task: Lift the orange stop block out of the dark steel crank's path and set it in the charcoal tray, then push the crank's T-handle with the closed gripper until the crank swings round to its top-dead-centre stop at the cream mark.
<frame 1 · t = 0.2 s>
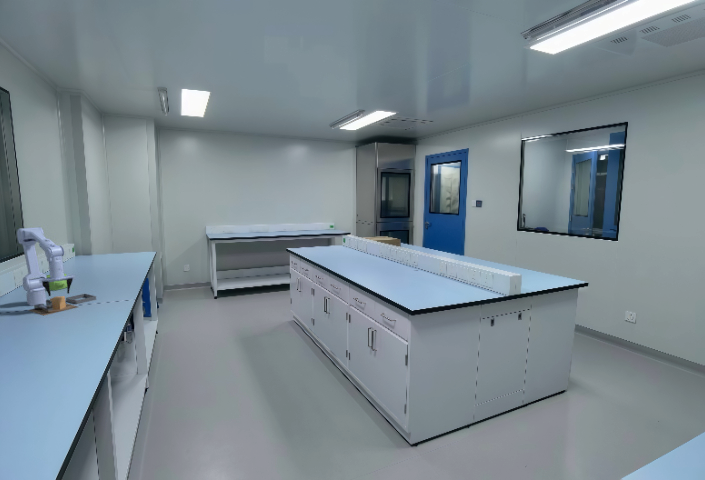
hand: (59, 294, 193), 10 cm above the lab bench, tool pointing down, fingers open, 7 cm apart
crank board: (53, 310, 197), on the lab bench
green rough block: (54, 289, 242), on the lab bench
tray: (81, 302, 212), on the lab bench
stop block: (58, 308, 197), point 1 cm above the lab bench, touching crank board
crank: (43, 304, 193), point 4 cm above the lab bench, hinge at 0.0°
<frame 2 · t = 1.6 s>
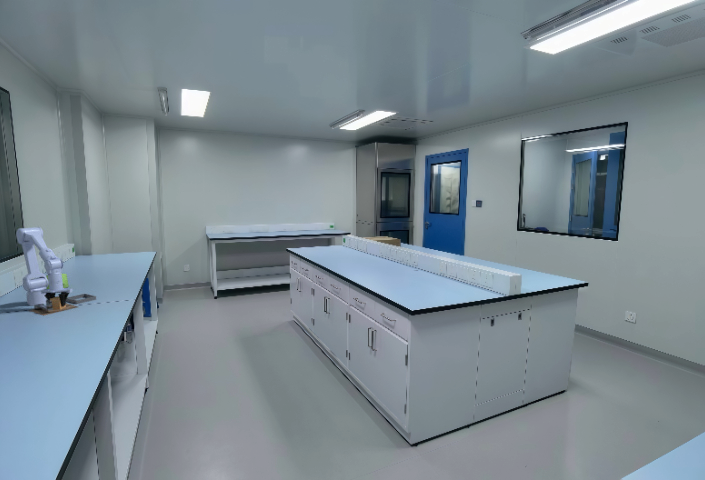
hand: (58, 305, 197), 2 cm above the lab bench, tool pointing down, fingers closed on stop block, 4 cm apart
stop block: (58, 308, 197), point 1 cm above the lab bench, touching crank board, gripper
everything else where it was.
when the fingers open (3 cm above the lab bench, at t = 5.6 s): stop block drops 1 cm, resting on tray.
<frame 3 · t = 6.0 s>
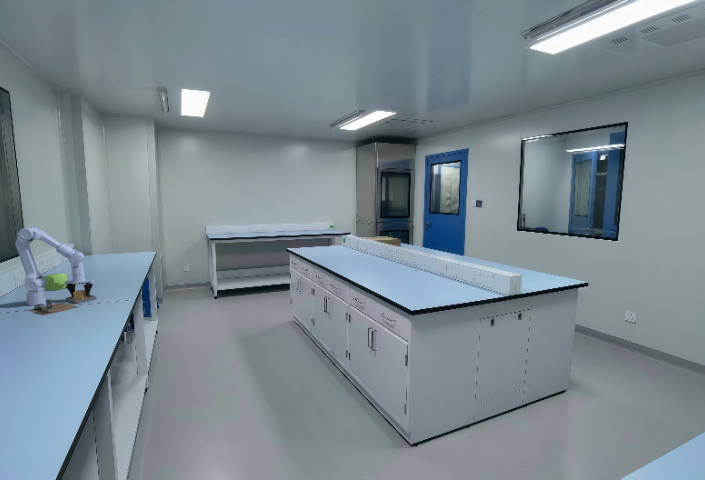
hand: (80, 296, 212), 3 cm above the lab bench, tool pointing down, fingers open, 7 cm apart
stop block: (80, 301, 212), point 1 cm above the lab bench, touching tray
everything else where it was.
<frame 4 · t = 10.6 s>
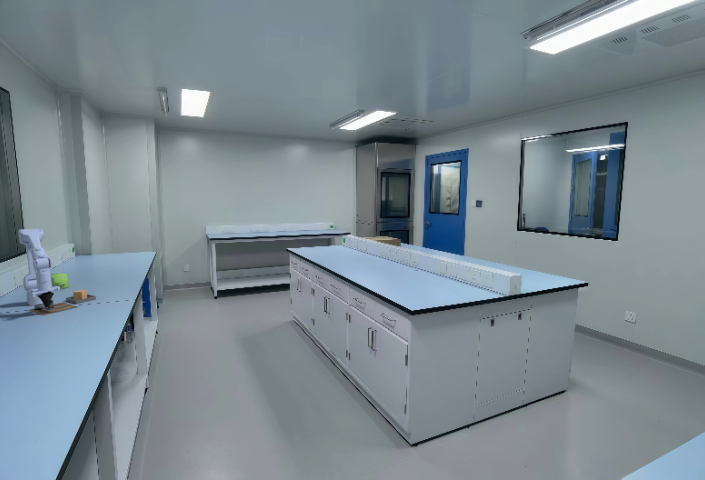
hand: (47, 307, 188), 4 cm above the lab bench, tool pointing down, fingers closed
crank: (44, 304, 193), point 4 cm above the lab bench, hinge at 2.7°, touching gripper
everything else where it was.
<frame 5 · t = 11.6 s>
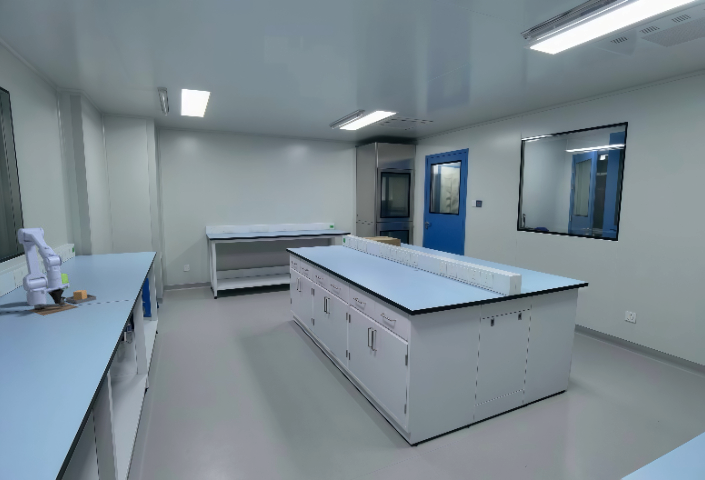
hand: (57, 303, 194), 5 cm above the lab bench, tool pointing down, fingers closed
crank: (49, 302, 196), point 4 cm above the lab bench, hinge at 30.8°, touching gripper
everything else where it was.
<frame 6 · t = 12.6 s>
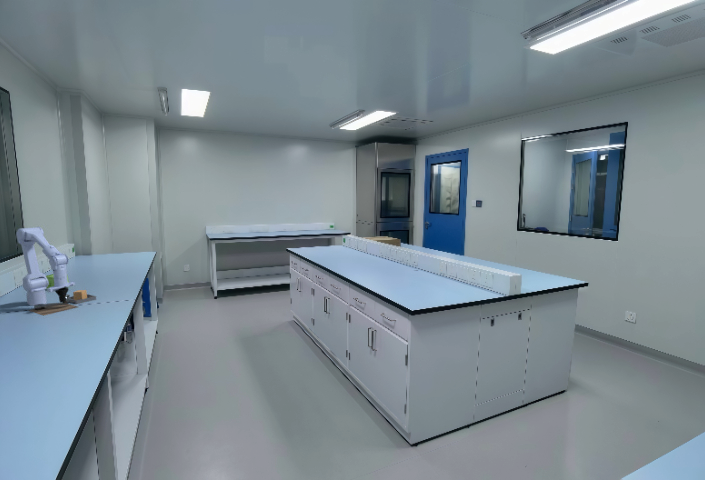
hand: (63, 301, 198), 4 cm above the lab bench, tool pointing down, fingers closed, pressing on crank
crank: (51, 301, 198), point 4 cm above the lab bench, hinge at 46.7°, touching gripper
everything else where it was.
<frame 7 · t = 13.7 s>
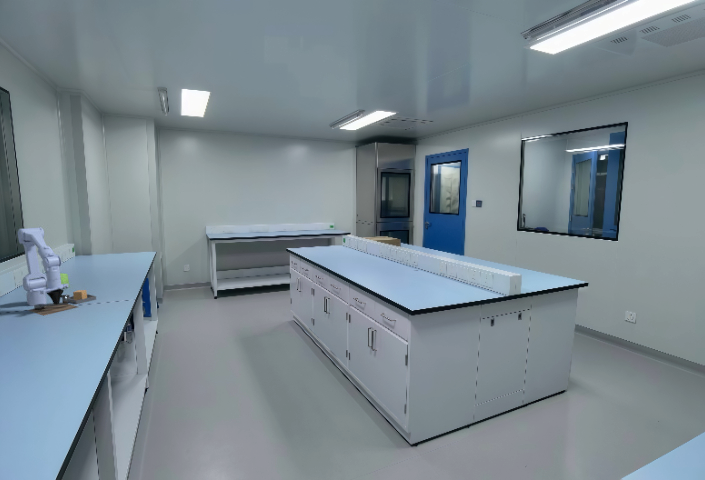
hand: (56, 303, 194), 4 cm above the lab bench, tool pointing down, fingers closed
crank: (51, 301, 198), point 4 cm above the lab bench, hinge at 45.8°
everything else where it was.
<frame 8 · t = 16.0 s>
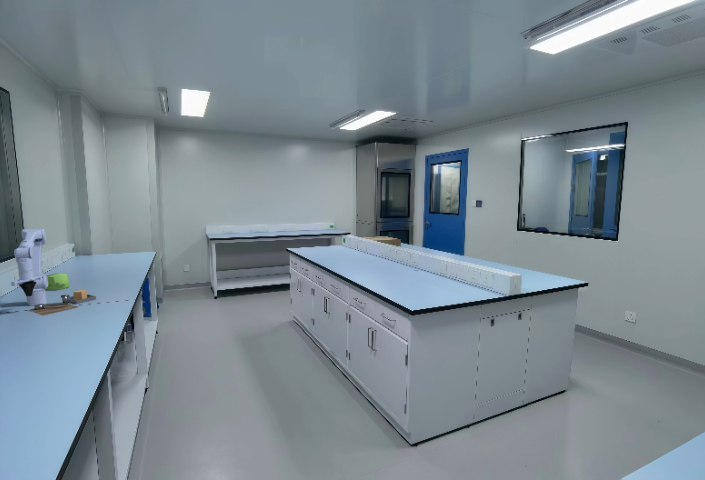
hand: (29, 295, 191), 9 cm above the lab bench, tool pointing down, fingers closed
nothing on the lab bench moved.
at the end: crank at +46° (first picture: +0°); stop block 0.4 cm off-centre on the tray, point 0.6 cm above the tray's base; stop block tilted 0° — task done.
